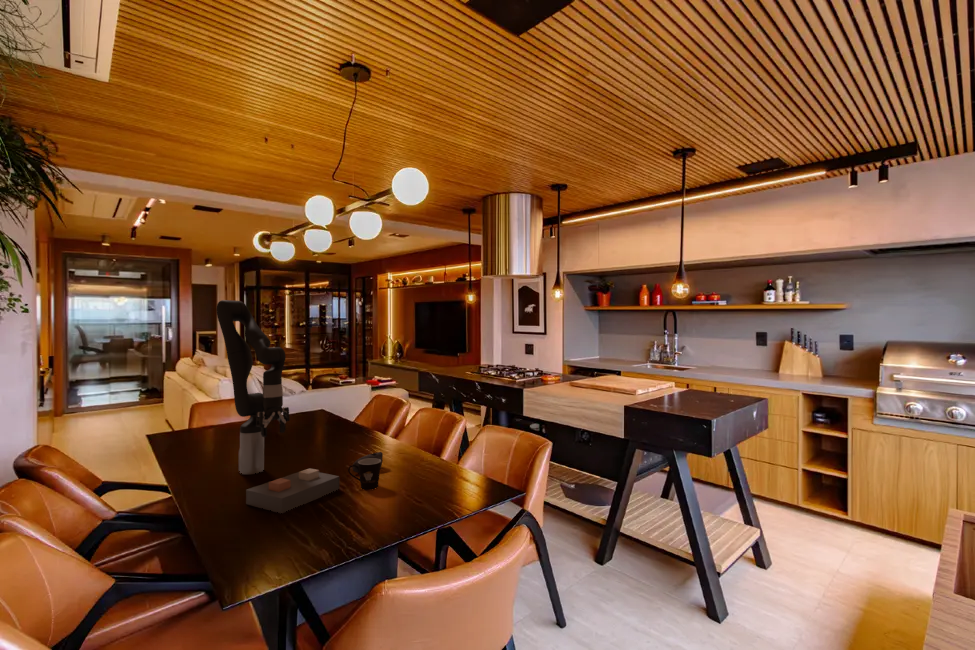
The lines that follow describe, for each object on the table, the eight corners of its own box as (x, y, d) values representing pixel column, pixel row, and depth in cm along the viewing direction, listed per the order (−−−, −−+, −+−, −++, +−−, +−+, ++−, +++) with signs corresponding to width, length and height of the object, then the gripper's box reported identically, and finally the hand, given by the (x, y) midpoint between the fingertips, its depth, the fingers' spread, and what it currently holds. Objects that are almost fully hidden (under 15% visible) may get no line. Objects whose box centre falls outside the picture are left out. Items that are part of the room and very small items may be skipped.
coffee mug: (385, 485, 185) (385, 459, 185) (372, 492, 176) (373, 465, 176) (359, 481, 188) (359, 456, 188) (346, 488, 180) (346, 462, 180)
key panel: (246, 504, 165) (246, 489, 165) (305, 482, 188) (305, 469, 188) (281, 513, 156) (281, 498, 156) (339, 489, 179) (339, 476, 179)
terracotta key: (268, 493, 165) (268, 482, 165) (280, 489, 170) (280, 478, 170) (278, 495, 163) (278, 484, 163) (290, 491, 167) (290, 480, 167)
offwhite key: (298, 482, 177) (298, 471, 177) (309, 478, 181) (309, 468, 181) (308, 484, 174) (308, 473, 174) (318, 480, 179) (318, 470, 179)
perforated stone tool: (355, 476, 196) (355, 459, 196) (349, 473, 199) (349, 456, 199) (386, 468, 206) (386, 452, 206) (380, 466, 210) (380, 450, 210)
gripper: (281, 392, 203) (281, 430, 203) (251, 397, 191) (252, 437, 190) (293, 393, 200) (294, 431, 200) (263, 398, 187) (264, 439, 187)
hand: (273, 434), depth 195 cm, fingers open, 8 cm apart
